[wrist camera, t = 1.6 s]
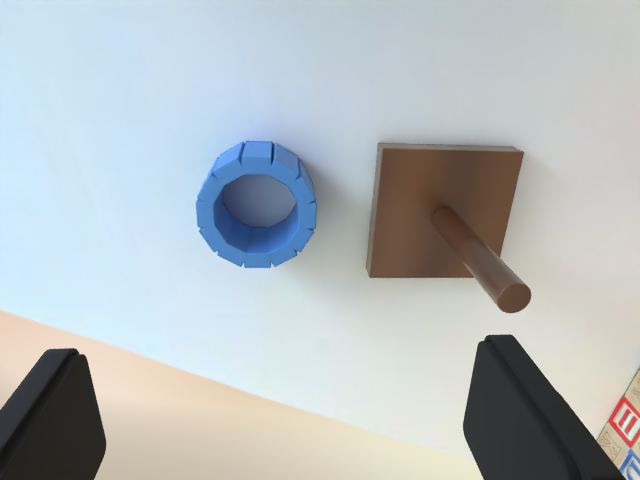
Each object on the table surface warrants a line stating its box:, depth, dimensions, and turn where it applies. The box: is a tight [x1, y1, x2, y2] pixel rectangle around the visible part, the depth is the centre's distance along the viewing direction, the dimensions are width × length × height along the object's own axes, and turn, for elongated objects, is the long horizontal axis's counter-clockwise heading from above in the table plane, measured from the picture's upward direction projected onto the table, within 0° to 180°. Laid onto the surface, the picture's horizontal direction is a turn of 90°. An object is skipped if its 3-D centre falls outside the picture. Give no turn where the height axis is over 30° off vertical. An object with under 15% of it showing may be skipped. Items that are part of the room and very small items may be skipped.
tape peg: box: [366, 143, 531, 313], centre depth 26 cm, size 9×9×12 cm
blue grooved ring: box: [196, 141, 317, 268], centre depth 28 cm, size 7×7×4 cm
